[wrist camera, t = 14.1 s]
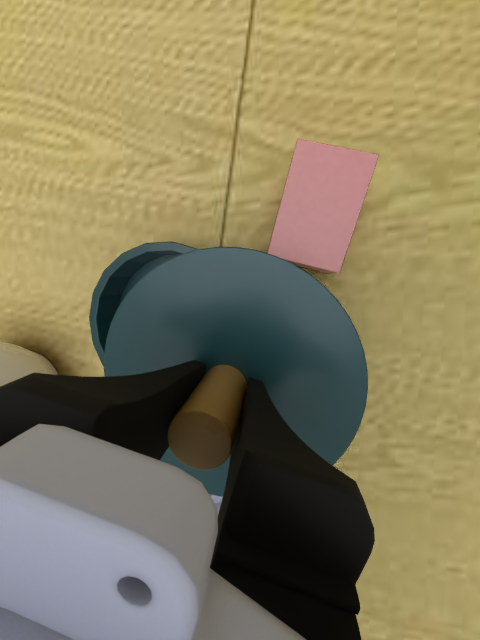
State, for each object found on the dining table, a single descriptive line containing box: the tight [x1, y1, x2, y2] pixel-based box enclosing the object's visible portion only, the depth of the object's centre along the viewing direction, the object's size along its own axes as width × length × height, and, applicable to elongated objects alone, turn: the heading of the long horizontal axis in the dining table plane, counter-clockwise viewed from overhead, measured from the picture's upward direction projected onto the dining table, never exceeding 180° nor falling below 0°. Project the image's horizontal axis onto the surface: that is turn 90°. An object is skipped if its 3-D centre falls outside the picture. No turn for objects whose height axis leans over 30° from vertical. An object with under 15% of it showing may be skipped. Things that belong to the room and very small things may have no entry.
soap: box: [267, 139, 379, 273], centre depth 15 cm, size 4×6×3 cm
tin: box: [89, 242, 199, 366], centre depth 19 cm, size 12×12×3 cm
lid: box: [104, 247, 368, 497], centre depth 10 cm, size 13×13×5 cm
